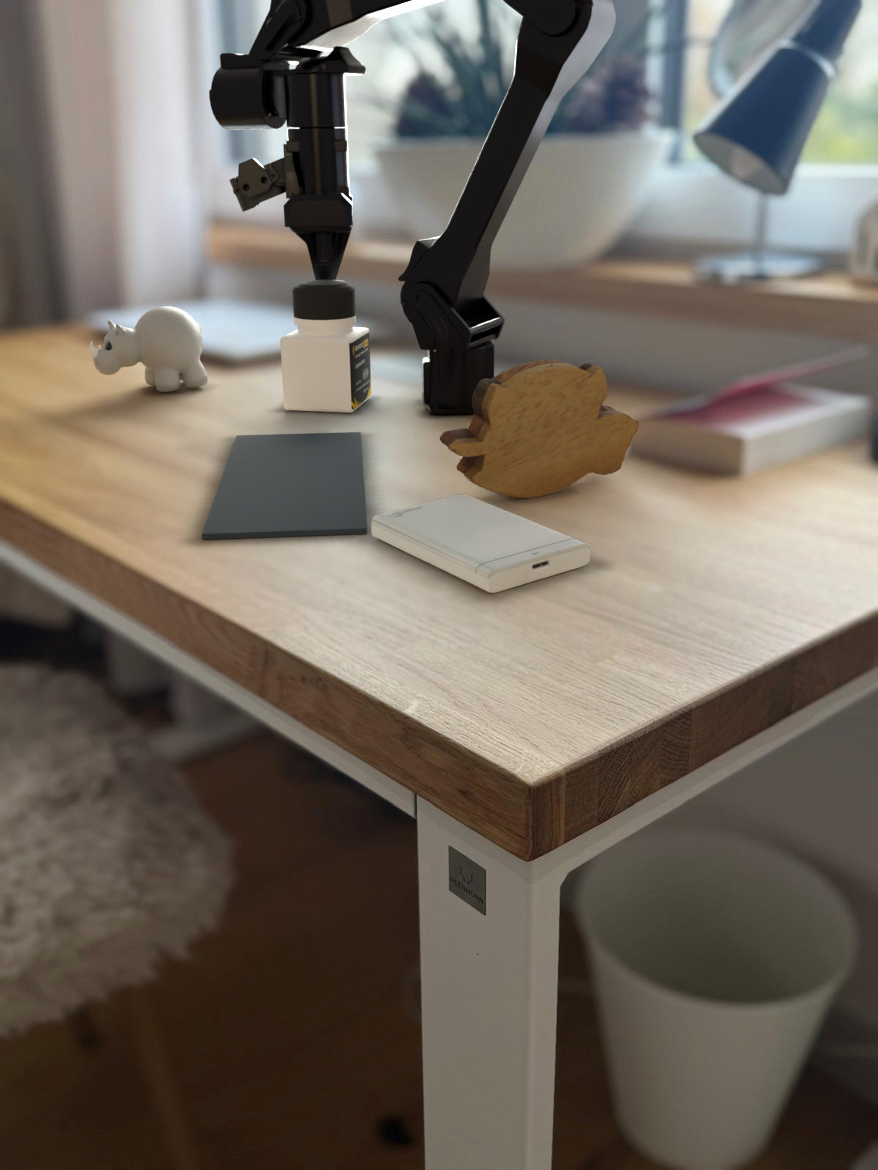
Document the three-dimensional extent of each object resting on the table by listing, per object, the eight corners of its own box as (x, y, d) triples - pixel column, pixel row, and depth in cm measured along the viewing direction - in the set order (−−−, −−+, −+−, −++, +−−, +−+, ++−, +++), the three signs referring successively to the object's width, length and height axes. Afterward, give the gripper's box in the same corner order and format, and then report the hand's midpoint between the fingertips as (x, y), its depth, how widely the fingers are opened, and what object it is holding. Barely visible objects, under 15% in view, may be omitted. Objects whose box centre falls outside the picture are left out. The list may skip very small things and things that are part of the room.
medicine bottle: (353, 413, 105) (348, 286, 100) (283, 410, 106) (275, 284, 101) (372, 397, 111) (368, 277, 106) (305, 395, 112) (299, 276, 108)
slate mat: (360, 436, 97) (360, 431, 97) (367, 533, 73) (367, 528, 73) (236, 439, 96) (236, 435, 96) (202, 539, 72) (201, 533, 72)
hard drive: (370, 515, 71) (488, 569, 62) (467, 492, 76) (591, 539, 67) (371, 539, 72) (488, 595, 63) (467, 514, 77) (590, 564, 67)
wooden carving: (600, 467, 87) (607, 342, 83) (640, 481, 84) (648, 351, 80) (429, 503, 79) (428, 366, 75) (465, 520, 75) (465, 377, 71)
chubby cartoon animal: (86, 390, 115) (75, 309, 112) (194, 377, 121) (186, 299, 118) (104, 403, 110) (93, 317, 106) (216, 389, 115) (209, 307, 112)
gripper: (241, 130, 111) (252, 286, 117) (220, 128, 94) (235, 311, 100) (349, 129, 112) (355, 284, 118) (349, 127, 95) (356, 309, 101)
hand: (325, 296), depth 109 cm, fingers closed
